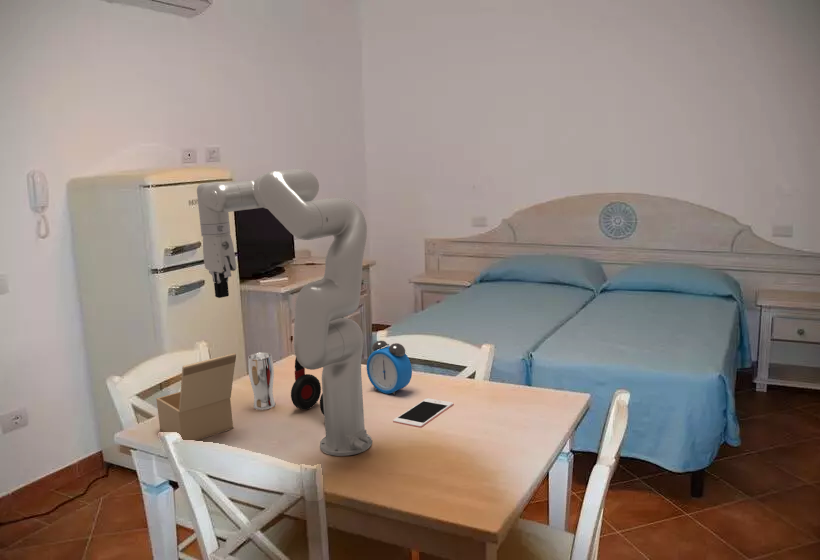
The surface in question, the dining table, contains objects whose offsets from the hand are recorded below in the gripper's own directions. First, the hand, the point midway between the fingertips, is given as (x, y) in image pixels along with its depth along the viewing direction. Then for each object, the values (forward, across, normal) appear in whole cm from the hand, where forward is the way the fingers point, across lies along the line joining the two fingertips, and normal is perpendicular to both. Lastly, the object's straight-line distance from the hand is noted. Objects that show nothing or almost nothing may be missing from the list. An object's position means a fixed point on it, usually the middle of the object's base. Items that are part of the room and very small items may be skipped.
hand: (222, 296), depth 189 cm
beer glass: (+33, -3, -8) cm, 34 cm away
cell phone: (+34, -41, -35) cm, 64 cm away
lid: (+18, -14, +13) cm, 26 cm away
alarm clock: (+33, -21, -40) cm, 56 cm away
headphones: (+33, -20, -16) cm, 42 cm away
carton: (+33, -4, +13) cm, 36 cm away
